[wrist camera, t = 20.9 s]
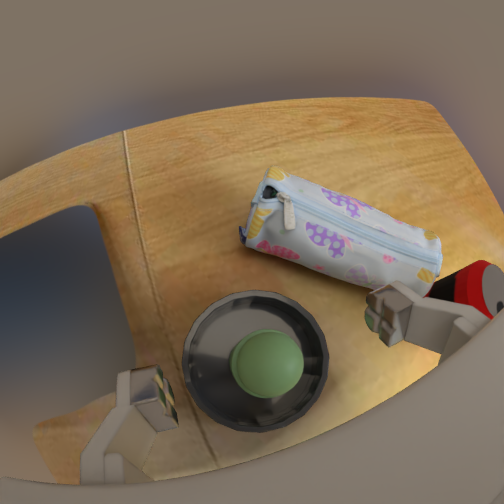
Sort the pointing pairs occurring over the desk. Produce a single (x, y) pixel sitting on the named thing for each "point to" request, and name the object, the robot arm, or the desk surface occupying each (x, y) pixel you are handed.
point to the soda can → (473, 288)
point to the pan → (228, 336)
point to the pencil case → (339, 235)
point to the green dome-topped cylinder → (266, 363)
